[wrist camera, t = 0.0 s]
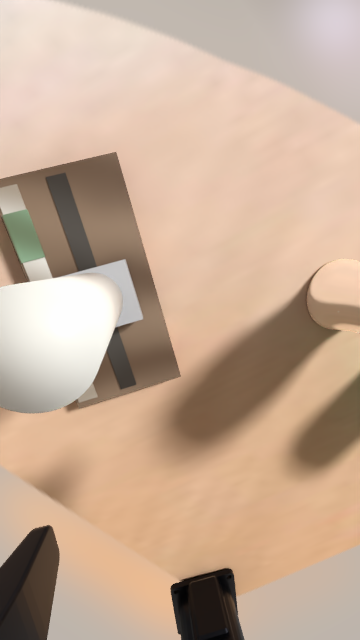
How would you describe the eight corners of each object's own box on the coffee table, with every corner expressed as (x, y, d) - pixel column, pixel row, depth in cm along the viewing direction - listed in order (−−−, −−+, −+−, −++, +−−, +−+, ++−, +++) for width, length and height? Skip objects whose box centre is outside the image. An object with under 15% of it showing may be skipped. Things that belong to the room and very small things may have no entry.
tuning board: (178, 369, 22) (181, 377, 20) (83, 398, 21) (78, 409, 19) (118, 161, 18) (115, 150, 16) (-1, 189, 17) (-15, 181, 16)
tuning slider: (142, 315, 18) (146, 387, 8) (51, 342, 18) (-85, 461, 7) (125, 259, 18) (102, 251, 7) (28, 285, 17) (-169, 323, 6)
